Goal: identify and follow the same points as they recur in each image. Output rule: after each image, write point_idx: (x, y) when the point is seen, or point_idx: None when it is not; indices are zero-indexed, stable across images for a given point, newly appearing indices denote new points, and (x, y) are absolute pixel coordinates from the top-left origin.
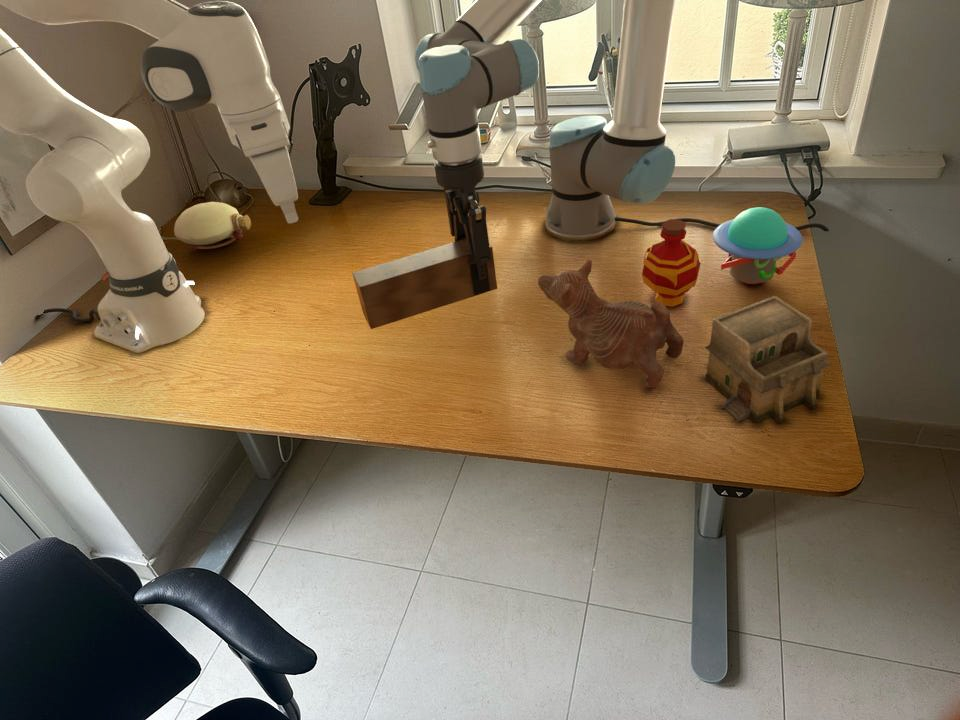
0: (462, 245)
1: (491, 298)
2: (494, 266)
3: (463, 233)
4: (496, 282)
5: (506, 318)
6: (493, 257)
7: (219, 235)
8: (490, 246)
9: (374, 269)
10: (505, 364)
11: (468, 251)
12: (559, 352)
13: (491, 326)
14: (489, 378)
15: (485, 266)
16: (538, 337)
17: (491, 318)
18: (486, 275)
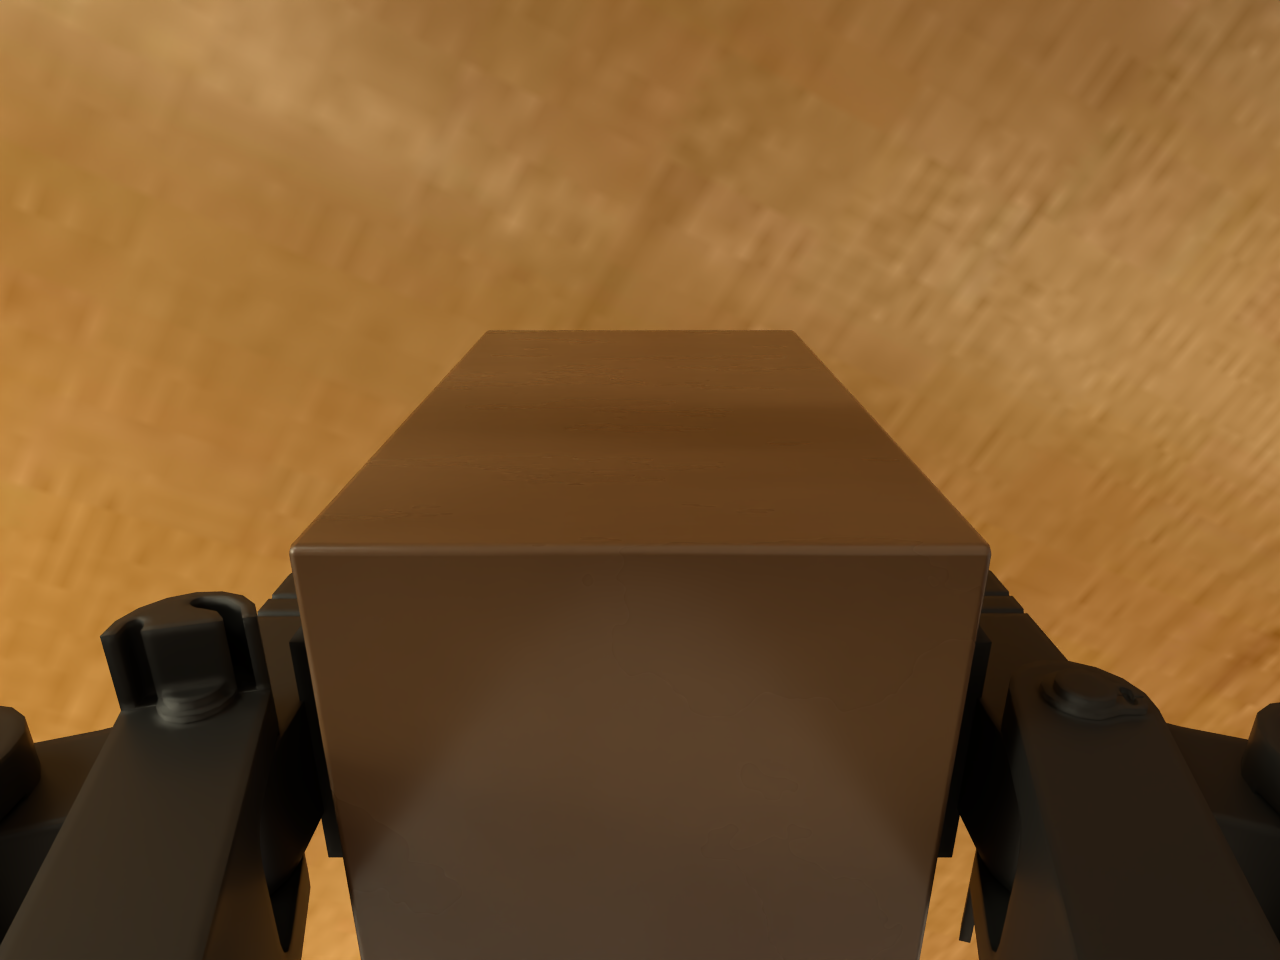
0: (573, 952)
1: (326, 174)
2: (864, 409)
3: (266, 950)
4: (809, 349)
5: (620, 182)
6: (904, 455)
7: None
8: (961, 579)
9: None
10: (1050, 389)
11: (839, 939)
12: (1190, 18)
13: (653, 312)
14: (1095, 510)
15: (1062, 654)
16: (951, 74)
17: (567, 276)
18: (992, 578)
